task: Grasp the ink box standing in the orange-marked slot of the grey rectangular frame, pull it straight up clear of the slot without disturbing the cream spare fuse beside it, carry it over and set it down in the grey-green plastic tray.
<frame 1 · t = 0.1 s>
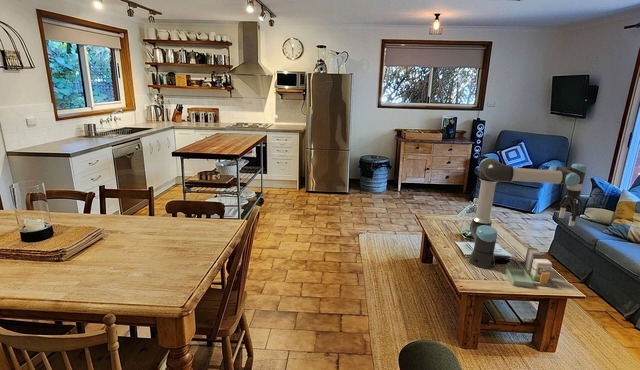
hand: (566, 221, 227), 28 cm above the table, fingers open, 13 cm apart
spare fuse: (531, 268, 225), resting in grey rectangular frame
grey rectangular frame: (534, 273, 219), on the table
tray: (518, 279, 212), on the table
ink box: (538, 279, 214), resting in grey rectangular frame
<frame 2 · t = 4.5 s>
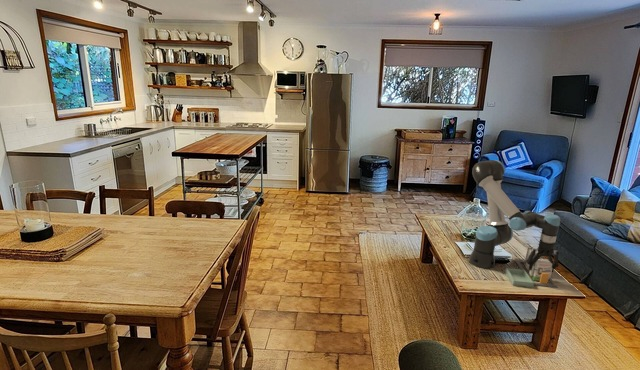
hand: (539, 275, 213), 2 cm above the table, fingers closed on ink box, 9 cm apart
ink box: (538, 279, 214), resting in grey rectangular frame, touching gripper
everything else where it was.
when the fingers open (4 cm above the table, at t = 11.5 s): ink box stays where it is, resting on tray.
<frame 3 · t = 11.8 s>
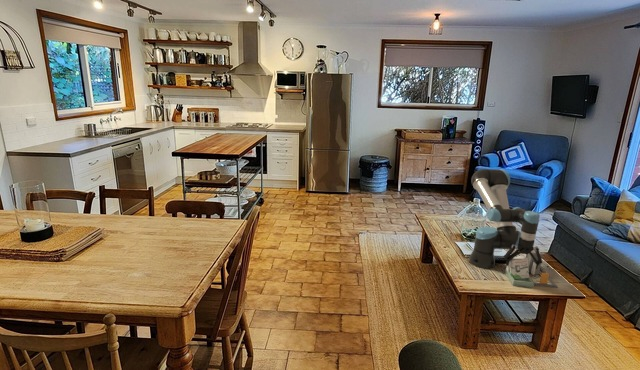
hand: (520, 271, 211), 5 cm above the table, fingers open, 13 cm apart
ink box: (519, 277, 211), point 2 cm above the table, touching tray
everything else where it was.
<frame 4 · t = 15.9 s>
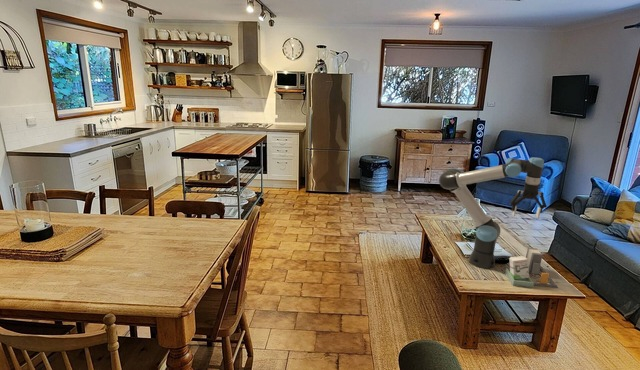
hand: (525, 216, 223), 32 cm above the table, fingers open, 13 cm apart
nothing on the table moved.
at the end: ink box inside the target area on the tray (0.3 cm from its centre), point 1.9 cm above the tray's base; the gripper is holding nothing; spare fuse moved 0.0 cm from its start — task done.
